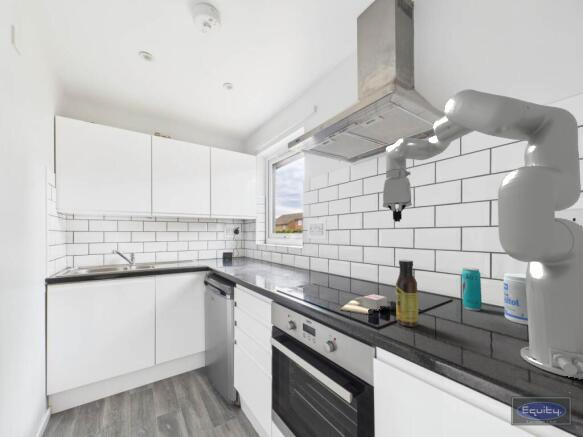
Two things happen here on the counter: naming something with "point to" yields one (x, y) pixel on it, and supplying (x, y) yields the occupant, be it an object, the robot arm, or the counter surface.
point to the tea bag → (372, 301)
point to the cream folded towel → (355, 307)
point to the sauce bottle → (406, 295)
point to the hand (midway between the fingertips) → (397, 221)
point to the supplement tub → (515, 298)
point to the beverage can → (471, 289)
